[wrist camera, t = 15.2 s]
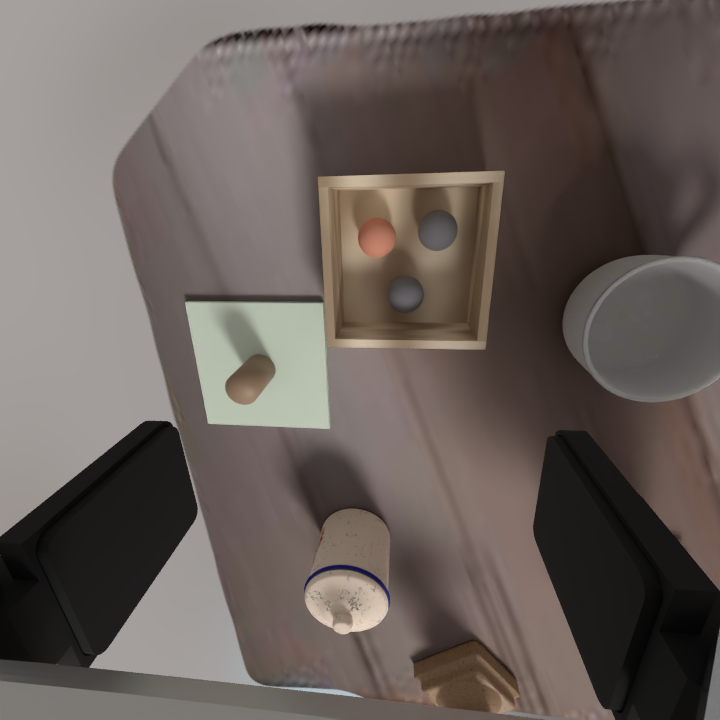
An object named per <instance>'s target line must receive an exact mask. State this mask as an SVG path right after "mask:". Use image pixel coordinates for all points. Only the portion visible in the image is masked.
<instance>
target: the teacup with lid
mask: <svg viewBox="0 0 720 720" xmlns="http://www.w3.org/2000/svg"><path fill="white" fill-rule="evenodd" d="M389 555H390V534H389V530H388V528H387V526H386V525H385V523H384V522H383V521H382V520H381V519H380V518H379V517H377V516H376V515H374V514H372V513H370V512H368V511H365V510H361V509H344V510H340V511H337V512H335V513H333V514H332V515H331V516H329V517H328V518H327V519H326V521H325V522H324V524H323V527H322V531H321V535H320V539H319V542H318V546H317V550H316V554H315V558H314V562H313V566H312V570H311V573H310V577H309V578H308V580H307V582H306V584H305V588H304V596H305V602H306V605H307V607H308V609H309V611H310V612H311V614H312V615H313V616H314V617H315V618H316V619H317V620H319V621H320V622H321V623H323V624H325V625H327V626H329V627H331V628H334V630H335V631H336V632H337V633H340V634H347V633H349V632H355V631H363V630H367V629H370V628H372V627H374V626H376V625H377V624H378V623H380V622H381V621H382V620H383V618H384V617H385V615H386V613H387V611H388V609H389V605H390V597H389V593H388V579H389Z"/></svg>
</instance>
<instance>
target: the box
mask: <svg viewBox="0 0 720 720" xmlns="http://www.w3.org/2000/svg"><path fill="white" fill-rule="evenodd" d="M504 174H505V171H481V172H450V173H419V174H388V175H357V176H326V177H318V189H319V207H320V225H321V243H322V261H323V279H324V297H325V314H326V332H327V347H361V348H417V349H474V350H485V348H486V339H487V330H488V320H489V311H490V302H491V293H492V284H493V275H494V266H495V257H496V247H497V238H498V229H499V220H500V211H501V202H502V193H503V184H504ZM434 210H444V211H447V212H449V213H450V214H451V215H452V216H453V217H454V218H455V220H456V222H457V227H458V231H457V236H456V238H455V240H454V242H453V243H452V244H451V245H450V246H449V247H448V248H446V249H444V250H441V251H432V250H429V249H427V248H426V247H424V246H423V245H422V243H421V242H420V240H419V237H418V227H419V224H420V222H421V220H422V218H423V217H424V216H425V215H426V214H428V213H429V212H431V211H434ZM372 218H382V219H385V220H387V221H388V222H390V223H391V225H392V226H393V228H394V230H395V233H396V242H395V245H394V247H393V249H392V250H391V252H389V253H388V254H387V255H385V256H383V257H379V258H374V257H371V256H368V255H367V254H365V253H364V252H363V251H362V249H361V248H360V246H359V242H358V234H359V230H360V228H361V227H362V225H363V224H364V223H365V222H366V221H368V220H369V219H372ZM402 276H410V277H413V278H415V279H416V280H418V281H419V282H420V284H421V285H422V287H423V291H424V297H423V301H422V303H421V305H420V306H419V307H418V308H417V309H416V310H414V311H412V312H409V313H402V312H398V311H396V310H395V309H394V308H392V306H391V305H390V303H389V301H388V297H387V292H388V288H389V286H390V284H391V283H392V282H393V281H394V280H395V279H397V278H399V277H402Z"/></svg>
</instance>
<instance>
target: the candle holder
mask: <svg viewBox="0 0 720 720" xmlns="http://www.w3.org/2000/svg"><path fill="white" fill-rule="evenodd" d="M414 678H415V679H416V680H417V681H418V682H419V683H420V684H421V685H422V690H423V692H424V694H425V695H426V696H427V697H428V698H429V699H430V700H431V701H432V702H433V703H434V704H435V705H436V706H437V707H446V708H454V709H463V710H471V711H480V712H488V713H497V714H502V713H505V712H507V711H510V710H512V709H514V707H515V702H514V700H515V699H516V698H518V697H520V693H519V689H518V684H517V681H516V679H515V678H514V677H513V676H512V675H511V674H510V673H509V672H508V671H507V670H506V669H505V668H504V667H503V666H502V665H501V664H500V663H499V662H498V661H497V660H496V659H495V658H494V657H493V656H492V655H491V654H490V653H489V652H488V651H487V650H486V649H485V648H484V647H483V646H482V645H481V644H480V643H479V642H477V641H475V640H472V641H469V642H466V643H463V644H461V645H458V646H456V647H453V648H450V649H448V650H445V651H443V652H440V653H438V654H435V655H432V656H430V657H427V658H425V659H422V660H420V661H418V662H416V663H414Z"/></svg>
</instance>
